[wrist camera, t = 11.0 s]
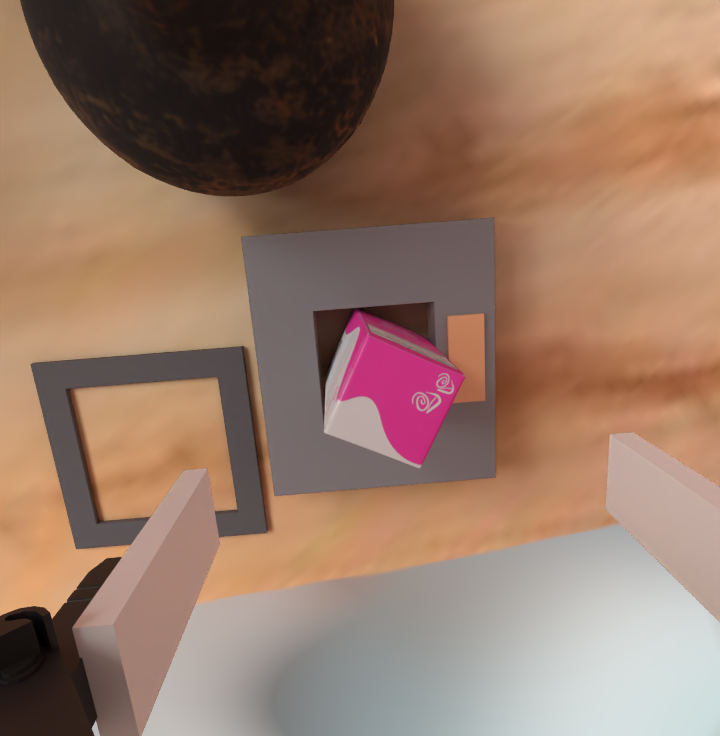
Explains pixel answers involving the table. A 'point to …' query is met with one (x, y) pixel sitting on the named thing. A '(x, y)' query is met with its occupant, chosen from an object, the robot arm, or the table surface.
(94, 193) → the table surface
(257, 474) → the flat grey square frame
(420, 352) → the supplement box
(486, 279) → the socket plate
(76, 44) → the glass bottle
